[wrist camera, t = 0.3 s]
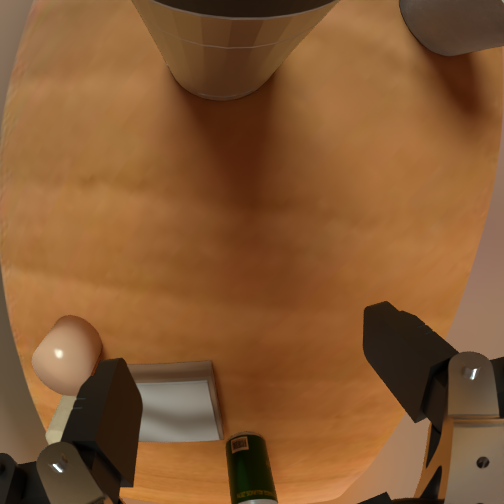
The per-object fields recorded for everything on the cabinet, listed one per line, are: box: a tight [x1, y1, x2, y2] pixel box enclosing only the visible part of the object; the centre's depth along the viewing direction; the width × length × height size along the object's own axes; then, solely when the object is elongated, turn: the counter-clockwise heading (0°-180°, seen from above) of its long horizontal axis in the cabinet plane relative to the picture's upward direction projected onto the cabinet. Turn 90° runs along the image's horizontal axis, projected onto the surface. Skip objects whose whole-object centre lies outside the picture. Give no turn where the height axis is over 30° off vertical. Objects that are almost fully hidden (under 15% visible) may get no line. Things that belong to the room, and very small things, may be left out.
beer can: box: [226, 432, 278, 504], centre depth 31 cm, size 5×5×12 cm
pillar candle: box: [399, 0, 504, 56], centre depth 15 cm, size 10×10×15 cm
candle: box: [46, 395, 77, 445], centre depth 27 cm, size 6×6×10 cm
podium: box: [127, 360, 224, 442], centre depth 31 cm, size 11×11×3 cm
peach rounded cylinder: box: [32, 315, 102, 396], centre depth 26 cm, size 6×6×6 cm
